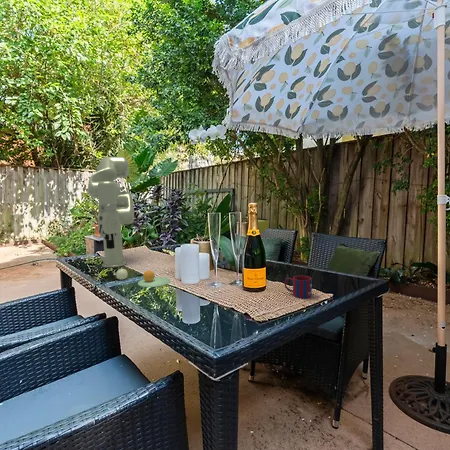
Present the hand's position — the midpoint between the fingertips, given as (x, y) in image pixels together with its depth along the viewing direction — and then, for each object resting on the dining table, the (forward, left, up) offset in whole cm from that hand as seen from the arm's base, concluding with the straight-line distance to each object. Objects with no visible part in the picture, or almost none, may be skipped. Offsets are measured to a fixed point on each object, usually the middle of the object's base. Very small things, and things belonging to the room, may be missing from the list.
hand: (110, 248), depth 143 cm
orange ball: (+20, 0, -12) cm, 23 cm away
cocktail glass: (+58, +31, -14) cm, 67 cm away
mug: (+85, +2, -14) cm, 86 cm away
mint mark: (+23, 0, -14) cm, 27 cm away
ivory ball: (+6, -1, -12) cm, 13 cm away
